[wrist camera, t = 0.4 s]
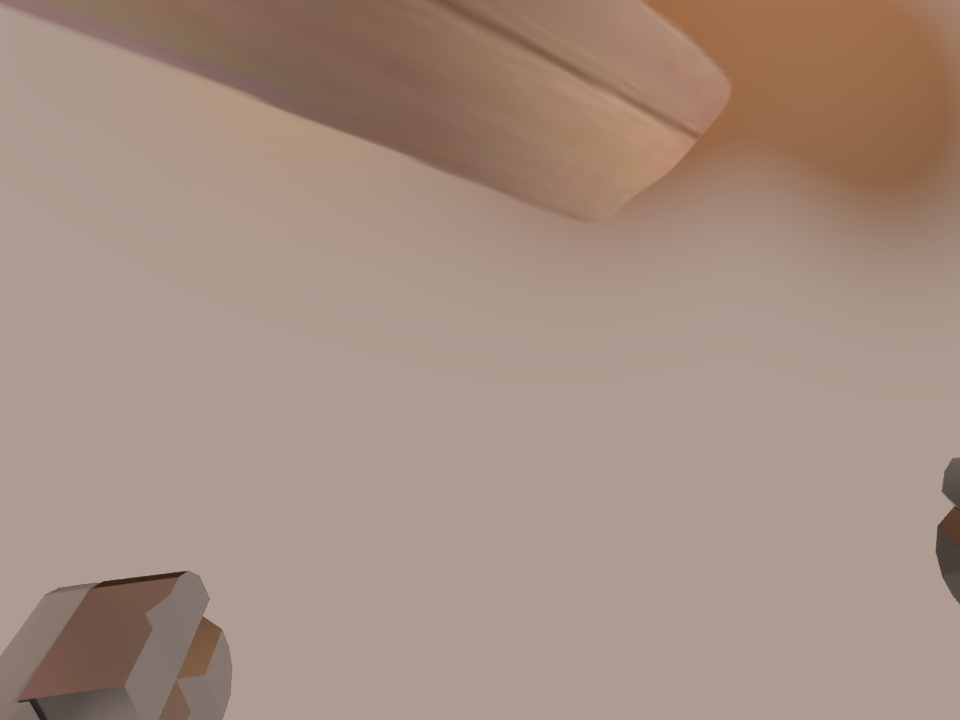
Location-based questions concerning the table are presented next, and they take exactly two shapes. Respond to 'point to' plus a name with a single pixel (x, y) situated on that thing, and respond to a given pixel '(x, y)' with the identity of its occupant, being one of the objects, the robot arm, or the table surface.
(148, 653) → the robot arm
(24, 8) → the table surface
